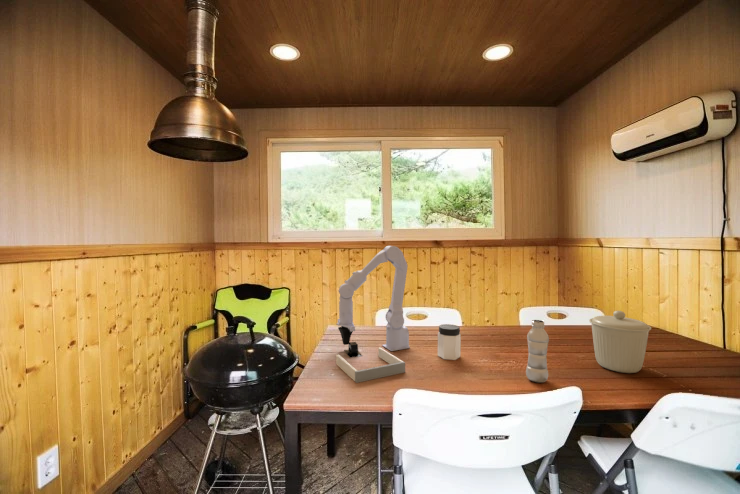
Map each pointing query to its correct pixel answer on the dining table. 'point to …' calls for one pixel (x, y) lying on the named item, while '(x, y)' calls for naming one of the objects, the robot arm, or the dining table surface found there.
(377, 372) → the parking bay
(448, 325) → the jar
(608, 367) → the canister
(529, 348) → the plastic bottle
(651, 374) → the dining table surface
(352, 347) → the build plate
